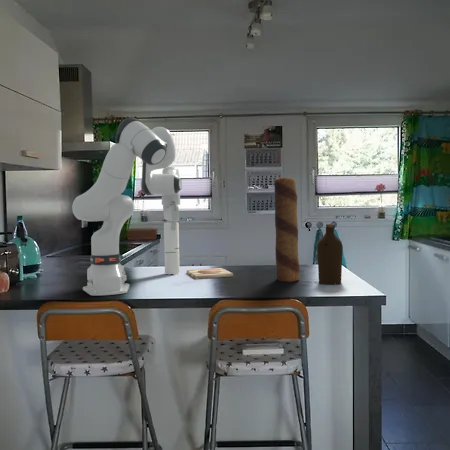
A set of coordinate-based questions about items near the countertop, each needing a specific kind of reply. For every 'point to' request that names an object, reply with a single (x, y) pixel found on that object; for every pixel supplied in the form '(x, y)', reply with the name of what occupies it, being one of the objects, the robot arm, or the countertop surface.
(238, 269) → the countertop surface
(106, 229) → the robot arm
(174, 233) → the cylindrical container
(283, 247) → the wafer roll
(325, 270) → the olive oil
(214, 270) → the seat board
